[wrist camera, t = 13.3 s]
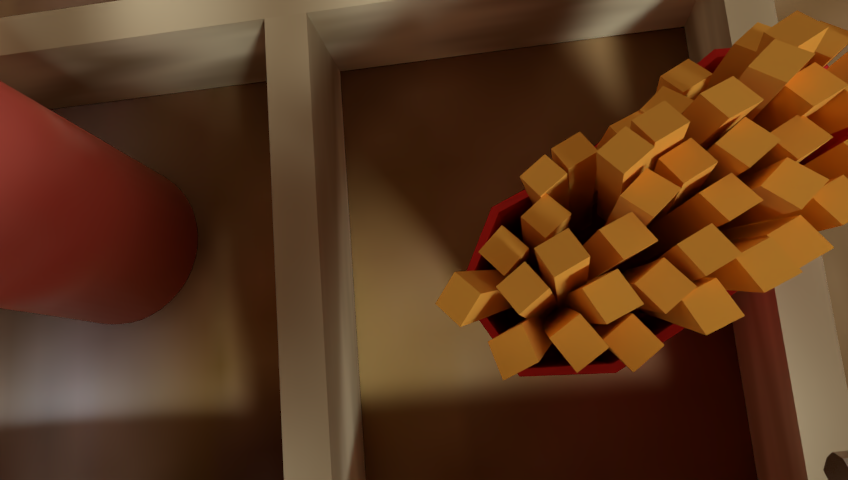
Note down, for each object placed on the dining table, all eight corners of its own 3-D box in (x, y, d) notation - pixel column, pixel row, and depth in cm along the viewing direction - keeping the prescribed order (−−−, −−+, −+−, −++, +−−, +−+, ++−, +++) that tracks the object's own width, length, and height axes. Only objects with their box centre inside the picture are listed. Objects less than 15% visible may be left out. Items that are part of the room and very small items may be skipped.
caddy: (-58, 588, 23) (-175, 630, 19) (-36, 88, 26) (-133, 36, 23) (813, 537, 20) (882, 572, 17) (717, -15, 24) (756, -93, 20)
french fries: (666, 144, 23) (849, -103, 11) (751, 248, 22) (1045, 99, 10) (439, 306, 23) (381, 228, 11) (517, 417, 22) (547, 462, 10)
